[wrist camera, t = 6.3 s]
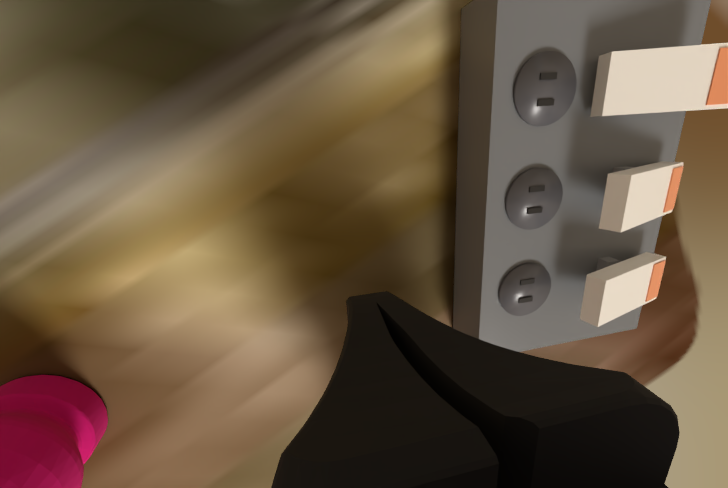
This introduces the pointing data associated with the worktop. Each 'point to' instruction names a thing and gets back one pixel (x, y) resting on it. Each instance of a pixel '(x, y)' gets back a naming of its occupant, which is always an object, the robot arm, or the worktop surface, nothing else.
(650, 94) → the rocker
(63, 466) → the pepper mill
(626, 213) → the middle rocker
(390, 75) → the worktop surface
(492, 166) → the power strip
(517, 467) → the robot arm
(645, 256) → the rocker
